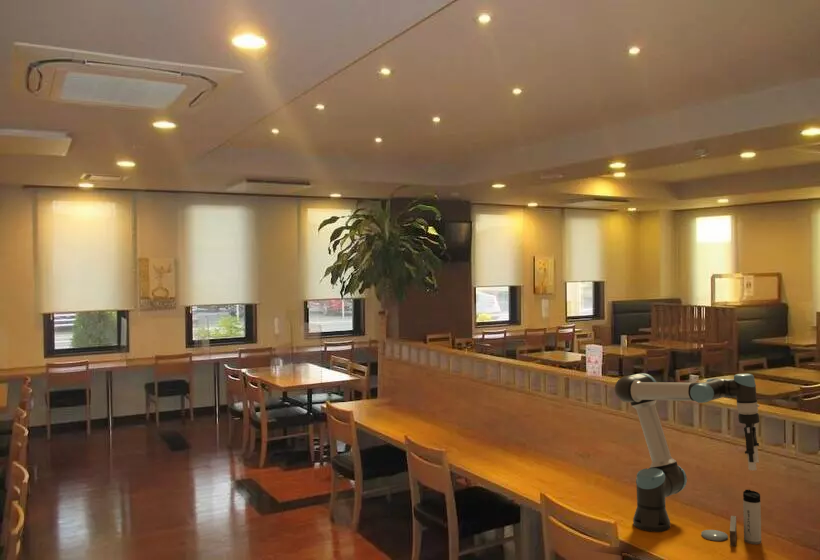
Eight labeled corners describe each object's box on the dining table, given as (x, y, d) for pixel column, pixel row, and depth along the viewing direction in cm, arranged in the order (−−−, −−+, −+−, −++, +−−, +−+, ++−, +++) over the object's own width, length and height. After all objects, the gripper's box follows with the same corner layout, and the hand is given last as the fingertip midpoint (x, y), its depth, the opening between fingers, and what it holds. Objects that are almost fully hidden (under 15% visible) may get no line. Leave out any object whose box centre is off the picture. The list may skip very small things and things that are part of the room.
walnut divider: (730, 545, 275) (729, 530, 275) (731, 529, 291) (730, 515, 291) (735, 546, 274) (735, 531, 274) (736, 530, 290) (736, 516, 290)
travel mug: (755, 537, 282) (754, 489, 282) (764, 544, 275) (763, 494, 275) (740, 538, 282) (739, 489, 281) (749, 544, 275) (748, 495, 275)
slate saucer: (700, 538, 282) (700, 537, 282) (702, 530, 291) (702, 528, 291) (727, 542, 278) (727, 540, 278) (728, 533, 287) (728, 531, 287)
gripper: (756, 418, 265) (762, 474, 264) (760, 407, 286) (766, 459, 285) (734, 418, 269) (740, 473, 268) (740, 408, 290) (746, 459, 289)
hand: (754, 466), depth 276 cm, fingers open, 13 cm apart
